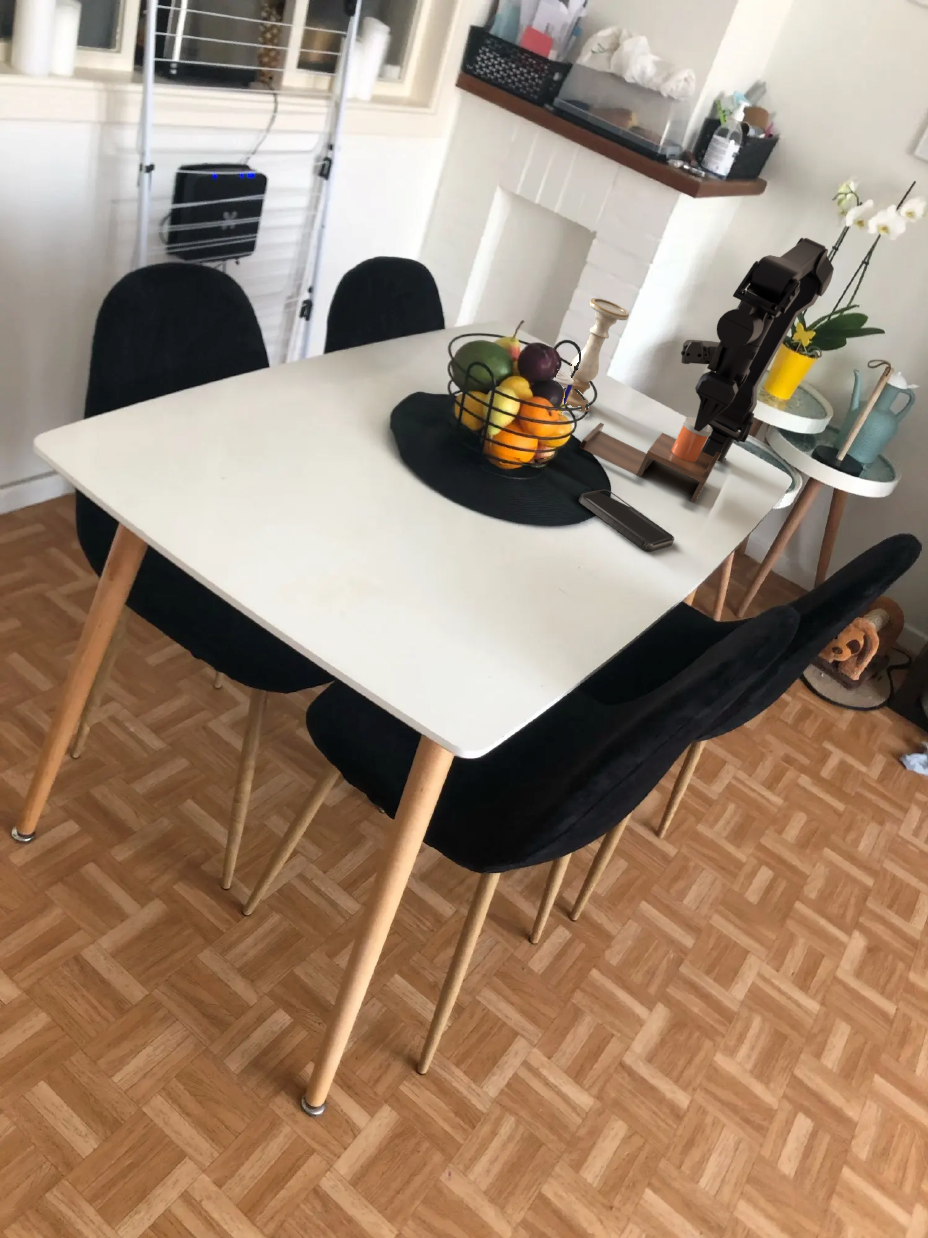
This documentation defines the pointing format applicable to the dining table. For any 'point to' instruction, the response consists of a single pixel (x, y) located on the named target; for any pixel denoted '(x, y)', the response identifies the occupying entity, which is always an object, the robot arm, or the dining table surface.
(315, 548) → the dining table surface
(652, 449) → the step rack
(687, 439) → the spice jar
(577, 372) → the candle holder
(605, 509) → the phone
